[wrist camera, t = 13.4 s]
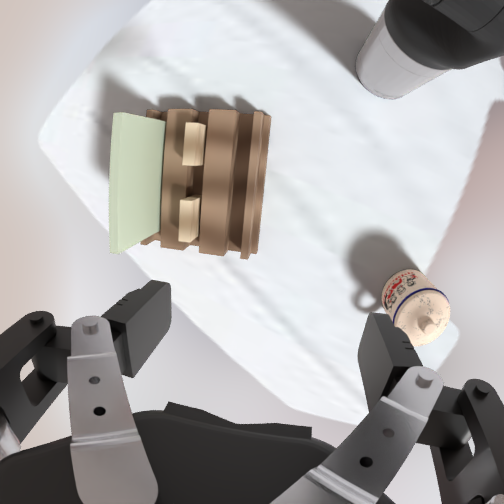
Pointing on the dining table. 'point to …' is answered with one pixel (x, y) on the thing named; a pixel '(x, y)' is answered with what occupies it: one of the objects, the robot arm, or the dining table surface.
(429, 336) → the teacup with lid
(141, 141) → the panel
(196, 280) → the dining table surface
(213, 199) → the rack
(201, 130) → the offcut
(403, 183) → the dining table surface
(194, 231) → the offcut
